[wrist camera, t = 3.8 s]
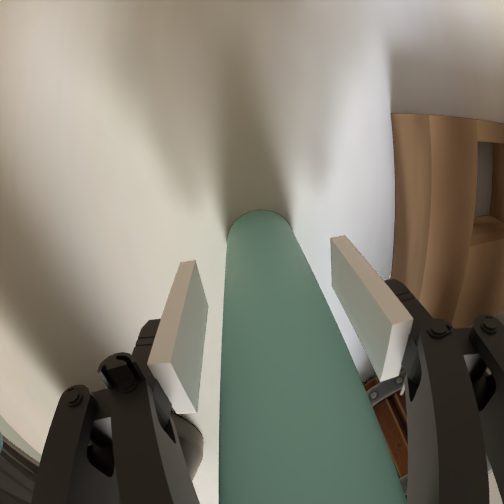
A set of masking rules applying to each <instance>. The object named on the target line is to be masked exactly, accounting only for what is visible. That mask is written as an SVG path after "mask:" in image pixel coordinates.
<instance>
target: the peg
mask: <svg viewBox="0 0 504 504" xmlns="http://www.w3.org/2000/svg"><path fill="white" fill-rule="evenodd" d="M219 504H408V503H407V500H406V497H405V494H404V491H403V488H402V485H401V482H400V479H399V476H398V474H397V471H396V468H395V465H394V462H393V460H392V457H391V454H390V451H389V449H388V446H387V443H386V441H385V438H384V435H383V433H382V430H381V428H380V425H379V423H378V420H377V417H376V415H375V412H374V410H373V407H372V405H371V402H370V400H369V398H368V395H367V393H366V390H365V388H364V385H363V383H362V381H361V378H360V376H359V373H358V371H357V369H356V366H355V364H354V362H353V359H352V357H351V355H350V352H349V350H348V348H347V346H346V343H345V341H344V339H343V337H342V334H341V332H340V330H339V328H338V325H337V323H336V321H335V319H334V317H333V314H332V312H331V310H330V308H329V306H328V304H327V301H326V299H325V297H324V295H323V293H322V291H321V289H320V286H319V284H318V282H317V280H316V278H315V276H314V274H313V272H312V270H311V268H310V266H309V264H308V261H307V259H306V257H305V255H304V253H303V251H302V249H301V247H300V245H299V243H298V241H297V239H296V237H295V235H294V233H293V231H292V229H291V227H290V225H289V224H288V222H287V221H286V220H285V219H284V218H283V217H282V216H280V215H278V214H277V213H274V212H271V211H267V210H256V211H251V212H248V213H246V214H244V215H242V216H241V217H240V218H238V219H237V220H236V221H235V222H234V224H233V225H232V227H231V228H230V231H229V234H228V238H227V253H226V270H225V288H224V307H223V328H222V352H221V381H220V419H219Z"/></svg>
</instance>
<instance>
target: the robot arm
mask: <svg viewBox="0 0 504 504" xmlns="http://www.w3.org/2000/svg"><path fill="white" fill-rule="evenodd" d="M330 241H331V269H332V287H333V289H334V291H335V293H336V295H337V297H338V299H339V300H340V302H341V304H342V306H343V308H344V310H345V312H346V314H347V316H348V318H349V320H350V322H351V324H352V326H353V327H354V329H355V331H356V333H357V335H358V337H359V339H360V341H361V343H362V345H363V347H364V349H365V352H366V354H367V356H368V358H369V360H370V362H371V364H372V366H373V368H374V370H375V372H376V374H377V376H378V379H379V381H380V382H381V381H384V380H388V379H391V378H394V377H397V376H399V373H400V370H401V366H402V367H403V368H404V370H405V372H406V376H405V379H404V382H403V385H402V388H401V391H400V395H403V393H404V390H405V396H406V410H407V429H408V482H407V503H408V504H489V481H488V469H487V460H486V454H487V457H488V460H489V462H490V465H491V468H492V471H493V473H494V476H495V479H496V482H497V485H498V488H499V492H500V495H501V498H502V502H503V504H504V325H503V324H502V323H501V322H500V321H499V320H498V319H497V318H495V317H493V316H490V315H480V316H478V317H477V318H475V320H474V322H473V325H472V327H470V328H453V326H452V325H451V324H450V323H448V322H447V321H445V320H442V319H436V318H433V317H432V316H431V315H430V314H429V313H428V311H427V310H426V309H425V308H424V307H423V305H422V304H421V303H420V302H419V301H418V300H417V298H415V296H414V295H413V294H412V293H410V290H409V289H408V288H407V287H406V286H405V285H404V284H403V283H401V282H400V281H398V280H396V279H390V280H385V281H383V279H382V278H381V277H380V276H379V274H378V273H377V272H376V271H375V270H374V268H373V267H372V266H371V265H370V264H369V262H368V261H367V260H366V259H365V258H364V257H363V255H362V254H361V253H360V252H359V251H358V250H357V248H356V247H355V246H354V245H353V244H352V243H351V242H350V240H349V239H348V238H347V237H346V236H339V237H333V238H330ZM207 314H208V303H207V300H206V296H205V293H204V289H203V286H202V282H201V279H200V275H199V271H198V268H197V264H196V260H193V261H187V262H181V263H180V265H179V268H178V270H177V273H176V276H175V279H174V282H173V285H172V287H171V290H170V293H169V296H168V299H167V302H166V305H165V308H164V311H163V314H162V317H161V319H155V320H149V321H148V322H147V323H146V324H145V325H144V326H143V328H142V329H141V331H140V334H139V337H138V339H137V342H136V347H134V350H133V353H132V355H130V354H129V353H123V352H122V353H116V354H113V355H111V356H109V357H108V358H106V359H105V360H104V361H103V362H102V363H101V365H100V366H99V369H98V374H99V375H100V377H101V378H102V379H103V381H104V382H105V384H106V385H107V386H108V389H105V390H101V391H97V392H93V393H91V392H90V391H89V389H88V388H87V387H85V386H84V385H75V386H72V387H70V388H68V389H67V390H66V391H65V392H64V393H63V394H62V396H61V398H60V400H59V403H58V405H57V408H56V411H55V414H54V417H53V420H52V423H51V426H50V429H49V433H48V436H47V439H46V443H45V446H44V450H43V453H42V457H41V461H40V463H39V462H38V461H36V460H35V459H33V458H32V457H30V456H29V455H28V454H26V453H25V452H23V451H22V450H21V449H19V448H18V447H17V446H15V445H14V444H13V443H12V442H10V441H9V440H8V439H6V438H5V437H4V436H3V435H2V433H1V432H0V504H200V503H199V500H198V497H197V494H196V492H195V489H194V486H193V483H192V480H193V478H194V476H195V474H196V472H197V469H198V467H199V465H200V463H201V461H202V457H203V444H204V441H203V437H202V435H201V433H200V432H199V431H198V430H197V429H196V428H195V427H194V426H193V425H192V424H190V423H189V422H188V421H186V420H184V419H183V418H181V417H179V416H177V415H175V414H173V413H171V407H173V409H174V410H175V412H176V413H177V414H195V413H197V410H198V399H199V388H200V378H201V368H202V358H203V349H204V340H205V331H206V323H207ZM487 368H489V370H490V372H491V375H490V374H488V373H487V371H486V369H487Z"/></svg>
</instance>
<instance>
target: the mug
mask: <svg viewBox="0 0 504 504" xmlns="http://www.w3.org/2000/svg"><path fill="white" fill-rule="evenodd" d="M405 376H406V372H405V370H404V368H403V367H402V366H401V370H400V373H399V376H397V377H394V378H391V379H388V380H384V381H381V382H380V381H379V379H378V376H377V375H376V376H374V377H373V378H371V379H370V380H368V381H367V382H366V383H365V384H364V388H365V390H366V393H367V395H368V398H369V400H370V402H371V405H372V407H373V410H374V412H375V415H376V417H377V420H378V423H379V425H380V428H381V430H382V433H383V435H384V438H385V441H386V443H387V446H388V449H389V451H390V454H391V457H392V460H393V462H394V465H395V468H396V471H397V474H398V476H399V479H400V482H401V485H402V488H403V491H404V494H405V497H406V500H407V482H408V429H407V410H406V396H405V390H404V393H403V395H400V391H401V388H402V385H403V382H404V379H405Z"/></svg>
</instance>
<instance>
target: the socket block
mask: <svg viewBox="0 0 504 504" xmlns="http://www.w3.org/2000/svg"><path fill="white" fill-rule="evenodd" d="M391 119H392V130H393V143H394V161H395V232H394V250H393V264H392V275H391V279H396V280H398V281H400V282H401V283H403V284H404V285H405V286H406V287H407V288H408V289H409V290H410V293H412V294H413V295H414V296H415V298H417V300H418V301H419V302H420V303H421V304H422V305H423V307H424V308H425V309H426V310H427V311H428V313H429V314H430V315H431V316H432V317H433V318H436V319H442V320H445V321H447V322H448V323H450V324H451V325H452V326H453V328H470V327H472V325H473V322H474V320H475V318H477V317H478V316H480V315H490V316H493V317H495V318H497V319H498V320H499V321H500V322H501V323H502V324H503V325H504V124H502V123H496V122H490V121H484V120H477V119H469V118H461V117H451V116H440V115H425V114H399V113H391ZM478 141H482V142H493V182H492V196H491V206H490V215H487V216H481V217H475V218H474V214H475V204H476V191H477V170H478ZM486 371H487V373H488V374H490V375H491V372H490V370H489V368H487V369H486ZM486 460H487V469H488V474H489V473H491V472H492V468H491V465H490V462H489V460H488V457H487V454H486Z"/></svg>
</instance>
